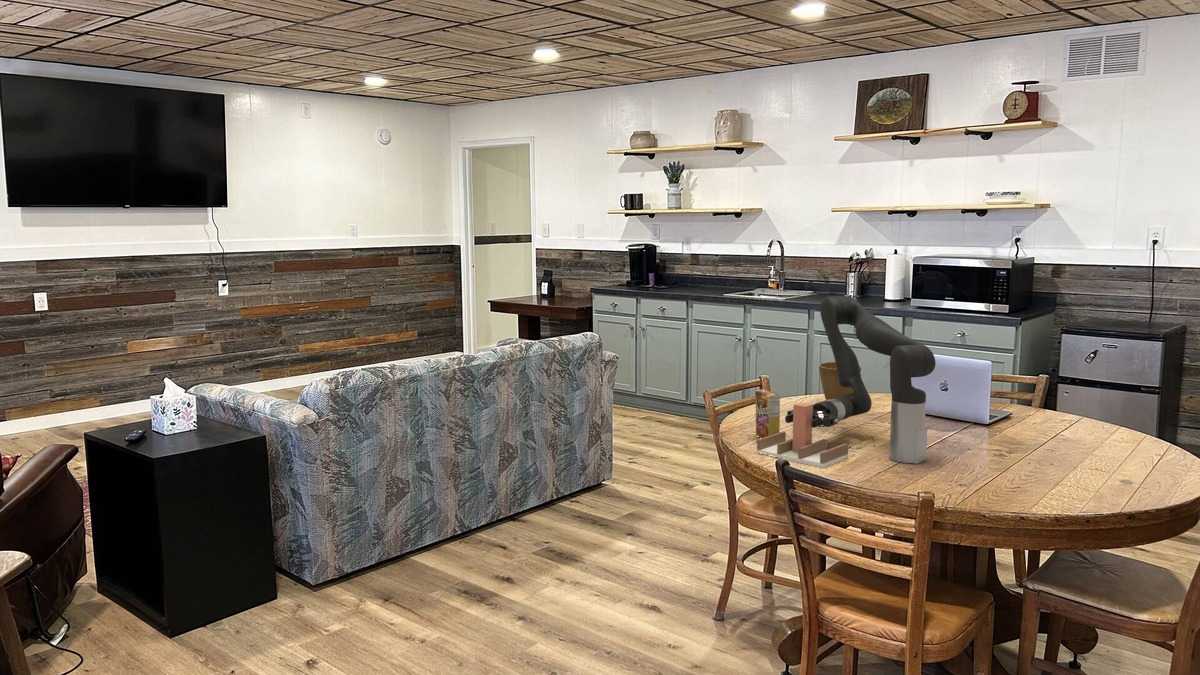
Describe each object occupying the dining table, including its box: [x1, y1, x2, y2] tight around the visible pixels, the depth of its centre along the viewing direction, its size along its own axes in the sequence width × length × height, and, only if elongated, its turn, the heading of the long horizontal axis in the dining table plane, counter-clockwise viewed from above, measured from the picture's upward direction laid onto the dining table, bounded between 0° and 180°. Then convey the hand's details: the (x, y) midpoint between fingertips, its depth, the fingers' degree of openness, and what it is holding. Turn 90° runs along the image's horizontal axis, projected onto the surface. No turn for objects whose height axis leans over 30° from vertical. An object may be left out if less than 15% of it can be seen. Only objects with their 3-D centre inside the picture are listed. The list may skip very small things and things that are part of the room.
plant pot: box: [818, 361, 862, 400], centre depth 319 cm, size 15×15×16 cm
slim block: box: [792, 402, 814, 453], centre depth 256 cm, size 4×4×14 cm
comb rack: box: [756, 430, 849, 469], centre depth 257 cm, size 22×14×4 cm, turn 46°
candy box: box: [755, 388, 781, 439], centre depth 275 cm, size 9×4×15 cm, turn 17°
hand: (799, 421), depth 255 cm, fingers open, 8 cm apart
